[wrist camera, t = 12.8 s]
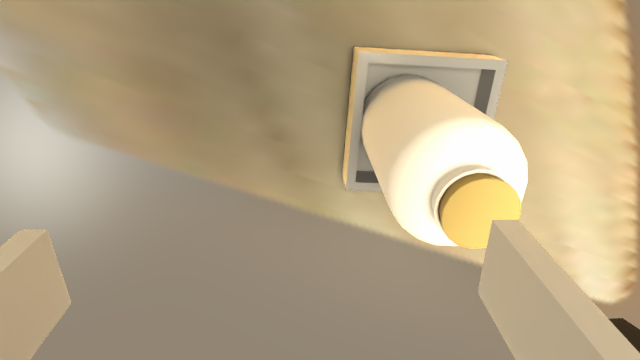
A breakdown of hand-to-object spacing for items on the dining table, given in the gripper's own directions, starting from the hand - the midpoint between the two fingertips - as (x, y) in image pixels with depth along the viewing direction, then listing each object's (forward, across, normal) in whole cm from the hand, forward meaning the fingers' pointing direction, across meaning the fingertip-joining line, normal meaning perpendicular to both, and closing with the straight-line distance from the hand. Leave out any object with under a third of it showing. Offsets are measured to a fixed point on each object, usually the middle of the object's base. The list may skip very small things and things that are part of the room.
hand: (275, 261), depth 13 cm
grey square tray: (+26, +11, -4) cm, 29 cm away
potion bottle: (+26, +10, -3) cm, 28 cm away
